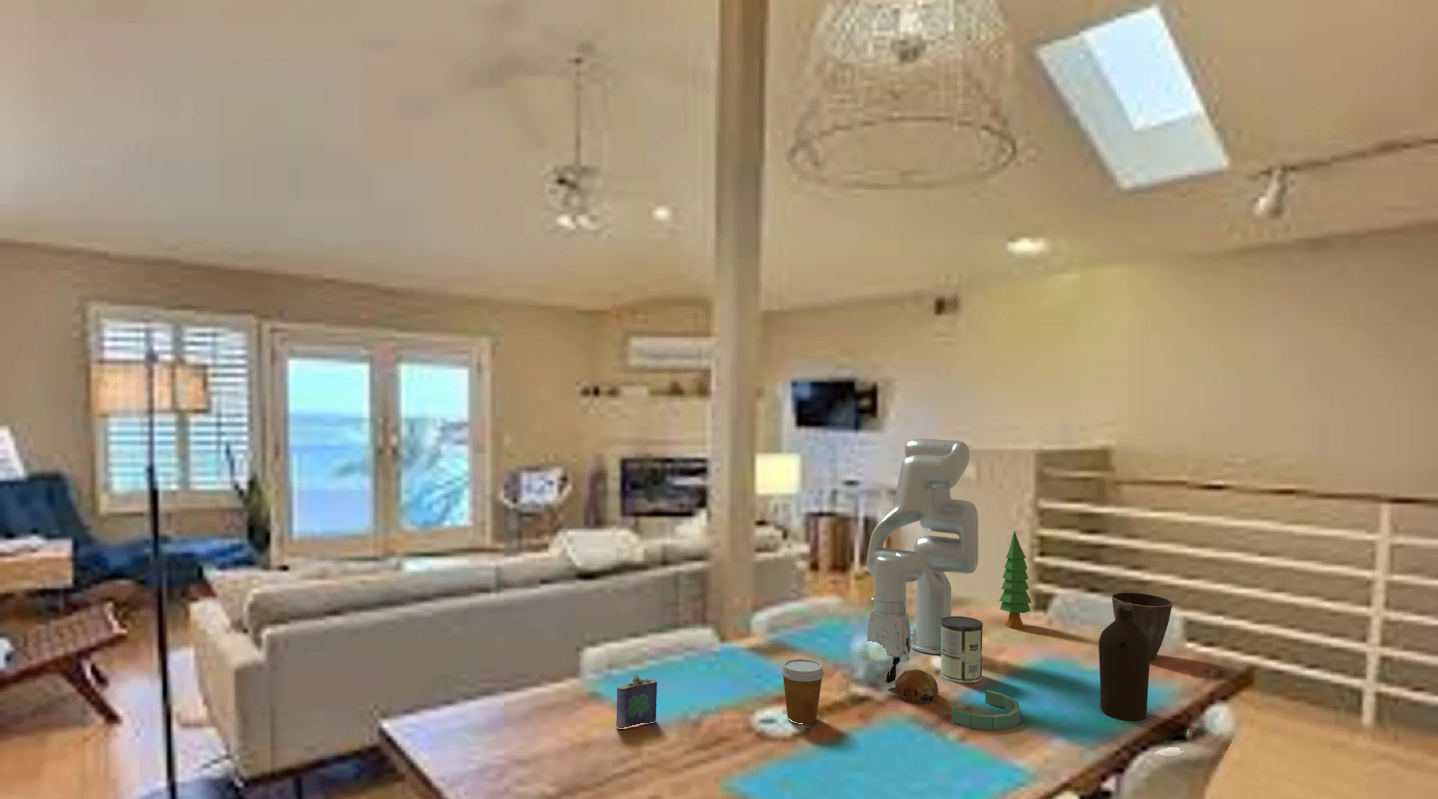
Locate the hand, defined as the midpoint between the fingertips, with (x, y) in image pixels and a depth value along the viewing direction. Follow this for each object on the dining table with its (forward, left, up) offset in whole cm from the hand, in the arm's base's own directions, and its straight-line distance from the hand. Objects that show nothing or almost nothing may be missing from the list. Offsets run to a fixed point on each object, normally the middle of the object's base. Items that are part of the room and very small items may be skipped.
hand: (888, 680), depth 201 cm
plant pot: (+36, +71, -2) cm, 79 cm away
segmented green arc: (+27, 0, -1) cm, 27 cm away
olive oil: (+46, +25, -2) cm, 52 cm away
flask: (-25, -59, -2) cm, 64 cm away
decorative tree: (-2, +75, -2) cm, 75 cm away
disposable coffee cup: (-2, -31, -2) cm, 31 cm away
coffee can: (+9, +20, -2) cm, 22 cm away
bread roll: (+8, 0, -2) cm, 8 cm away
